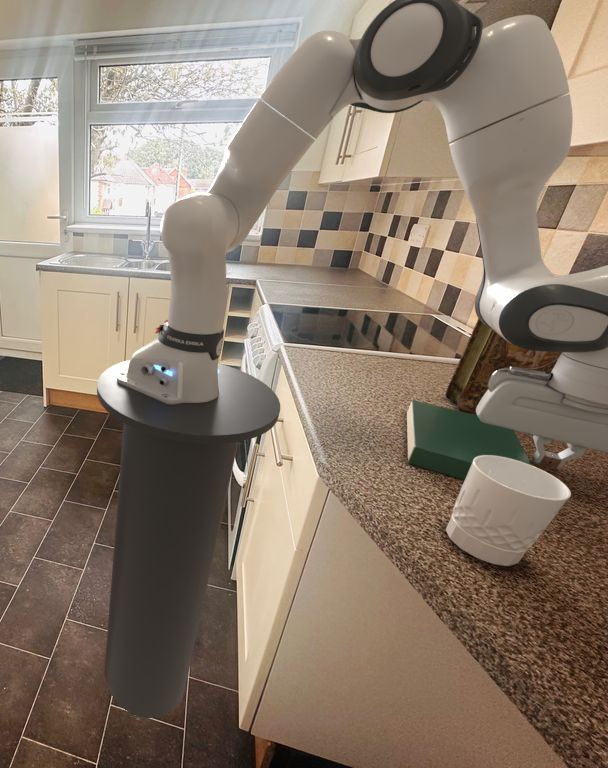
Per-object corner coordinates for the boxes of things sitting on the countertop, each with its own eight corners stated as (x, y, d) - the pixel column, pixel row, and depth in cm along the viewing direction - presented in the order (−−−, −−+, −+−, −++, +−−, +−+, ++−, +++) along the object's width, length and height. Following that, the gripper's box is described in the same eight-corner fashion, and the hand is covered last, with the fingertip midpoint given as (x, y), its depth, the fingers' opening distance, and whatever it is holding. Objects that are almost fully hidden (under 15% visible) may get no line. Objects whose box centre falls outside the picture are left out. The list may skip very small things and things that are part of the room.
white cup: (423, 520, 53) (455, 454, 49) (481, 519, 53) (517, 454, 49) (479, 572, 46) (522, 500, 41) (545, 570, 46) (593, 499, 42)
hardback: (407, 463, 64) (414, 446, 63) (406, 413, 80) (411, 399, 78) (529, 499, 57) (540, 482, 56) (502, 437, 73) (510, 422, 71)
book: (539, 412, 82) (609, 285, 72) (557, 425, 78) (636, 292, 67) (442, 398, 87) (496, 276, 76) (454, 410, 82) (513, 282, 71)
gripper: (501, 369, 60) (461, 450, 66) (724, 412, 50) (654, 503, 56) (493, 357, 65) (457, 433, 70) (696, 394, 55) (634, 479, 60)
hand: (545, 464), depth 63 cm, fingers closed
